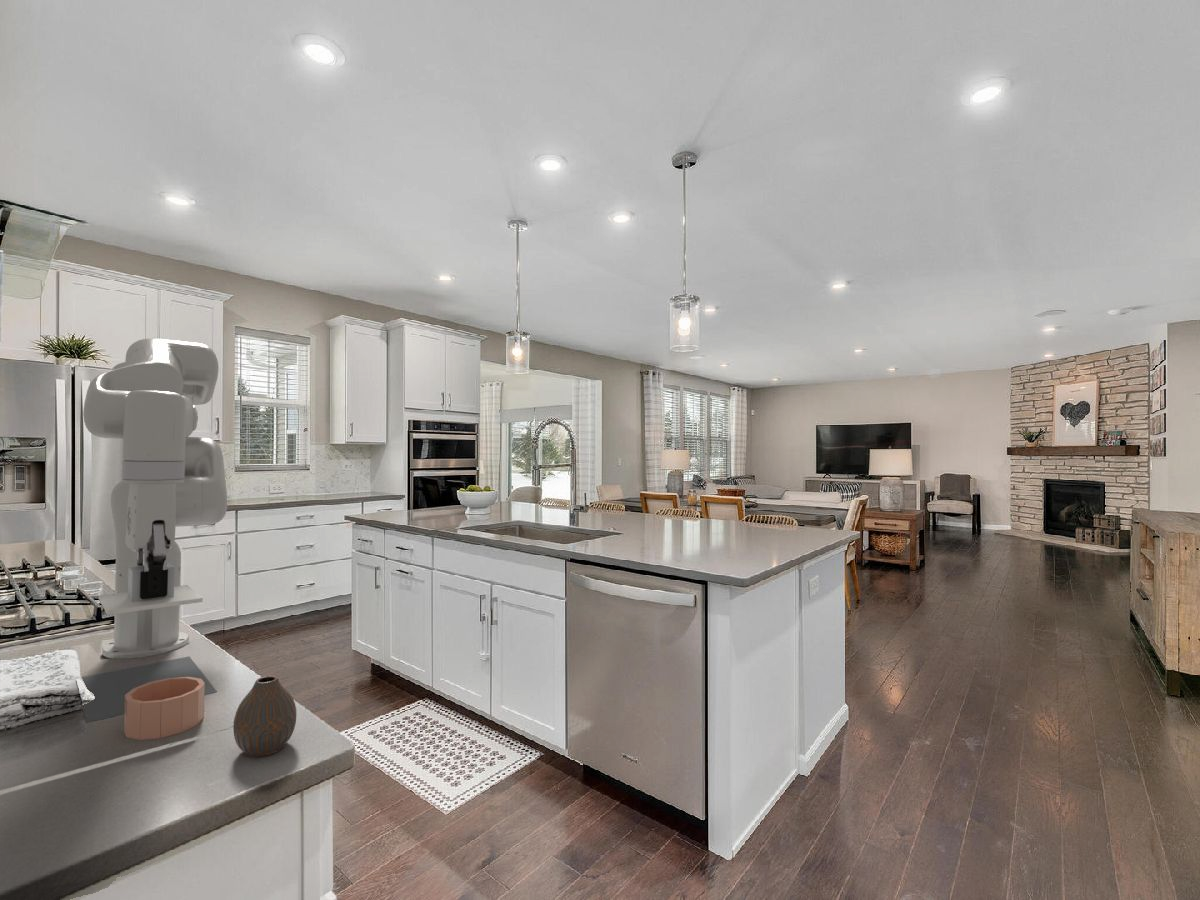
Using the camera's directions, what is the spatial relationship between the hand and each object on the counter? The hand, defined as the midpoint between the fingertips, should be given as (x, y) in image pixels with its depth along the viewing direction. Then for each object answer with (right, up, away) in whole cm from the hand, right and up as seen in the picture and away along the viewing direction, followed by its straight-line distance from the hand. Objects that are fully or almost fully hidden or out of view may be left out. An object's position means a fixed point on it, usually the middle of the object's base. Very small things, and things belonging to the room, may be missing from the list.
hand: (151, 593), depth 88 cm
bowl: (+9, -16, -9) cm, 20 cm away
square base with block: (0, -1, 0) cm, 1 cm away
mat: (-3, -15, +3) cm, 16 cm away
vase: (+25, -16, -14) cm, 33 cm away
